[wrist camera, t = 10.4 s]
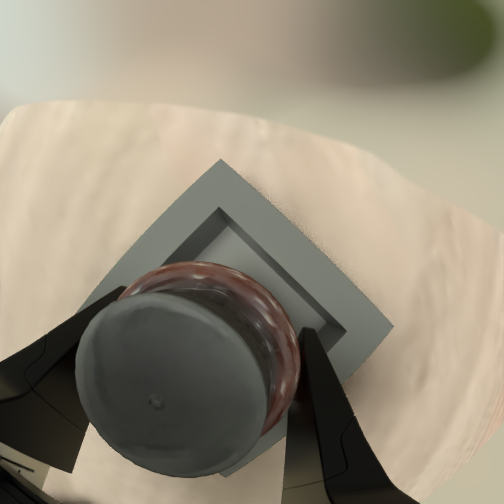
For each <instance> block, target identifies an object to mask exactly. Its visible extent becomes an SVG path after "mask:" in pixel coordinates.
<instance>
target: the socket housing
mask: <svg viewBox="0 0 504 504" xmlns="http://www.w3.org/2000/svg"><path fill="white" fill-rule="evenodd" d="M184 261H204V262H212V263H217V264H221V265H225V266H227V267H230V268H233V269H236V270H238V271H240V272H243V273H244V274H246V275H248V276H250V277H251V278H253V279H254V280H256V281H257V282H258V283H260V284H261V285H263V286H264V287H265V288H266V289H267V290H268V291H270V292H271V293H272V295H273V296H274V297H275V298H276V299H277V301H278V302H279V303H280V304H281V305H282V307H283V309H284V310H285V312H286V313H287V315H288V316H289V319H290V321H291V323H292V326H293V328H294V330H295V332H296V335H297V338H298V336H299V333H300V331H301V329H302V328H303V327H311V328H314V329H315V330H316V332H317V334H318V336H319V338H320V340H321V342H322V344H323V346H324V349H325V351H326V353H327V355H328V357H329V359H330V361H331V364H332V366H333V368H334V370H335V372H336V374H337V377H338V379H339V381H340V383H341V385H342V384H343V383H344V382H345V381H346V380H347V379H348V378H349V377H350V376H351V375H352V374H353V373H354V372H355V371H356V370H357V369H358V368H359V367H360V366H361V365H362V363H363V362H364V361H365V360H366V359H367V358H368V357H369V356H370V355H371V353H372V352H373V351H374V350H375V349H376V348H377V346H378V345H379V344H380V343H381V342H382V341H383V339H384V338H385V337H386V336H387V335H388V333H389V332H390V331H391V330H392V328H393V327H394V326H393V325H392V324H391V322H390V321H389V320H388V319H387V318H386V317H385V316H384V315H383V314H382V313H381V312H380V311H379V310H378V308H377V307H376V306H375V305H374V304H373V303H372V302H371V301H370V300H369V299H368V298H367V297H366V296H365V295H364V294H363V293H362V292H361V291H360V290H359V289H358V288H357V286H356V285H355V284H354V283H353V282H352V281H351V280H350V279H349V278H348V277H347V276H346V275H345V274H344V273H343V272H342V271H341V270H340V269H339V268H338V267H337V266H336V265H335V264H334V263H333V262H332V261H331V260H330V259H329V258H328V257H327V256H326V255H325V254H324V253H323V252H322V251H321V250H320V249H319V248H318V247H317V246H316V245H315V244H314V243H313V242H311V241H310V240H309V239H308V238H307V237H306V236H305V235H304V234H303V233H302V232H301V231H300V230H299V229H298V228H297V227H296V226H295V225H294V224H293V223H292V222H291V221H290V220H288V219H287V218H286V217H285V216H284V215H283V214H282V213H281V212H280V211H279V210H278V209H277V208H276V207H274V206H273V205H272V204H271V203H270V202H269V201H268V200H267V199H266V198H265V197H264V196H262V195H261V194H260V193H259V192H258V191H257V190H256V189H255V188H254V187H253V186H251V185H250V184H249V183H248V182H247V181H246V180H245V179H244V178H242V177H241V176H240V175H239V174H238V173H237V172H236V171H234V170H233V169H232V168H231V167H230V166H229V165H228V164H226V163H225V162H224V161H223V160H222V159H220V160H219V161H218V162H216V163H215V164H214V165H213V166H212V167H211V168H210V169H209V170H208V171H206V172H205V173H204V174H203V175H202V176H201V177H200V178H199V179H198V180H197V181H196V182H195V183H194V184H192V185H191V186H190V187H189V188H188V189H187V190H186V191H185V192H184V193H183V194H182V195H181V196H180V197H179V198H178V199H177V200H176V201H175V202H174V203H173V204H172V205H171V206H170V207H169V208H168V209H167V210H166V211H165V212H164V213H163V214H162V215H161V216H160V217H159V218H158V219H157V220H156V221H155V222H154V223H153V224H152V225H151V226H150V227H149V228H148V229H147V231H146V232H145V233H144V234H143V235H142V236H141V237H140V238H139V239H138V240H137V241H136V242H135V243H134V245H133V246H132V247H131V248H130V249H129V250H128V251H127V252H126V253H125V255H124V256H123V257H122V258H121V259H120V260H119V261H118V262H117V264H116V265H115V266H114V267H113V268H112V269H111V271H110V272H109V273H108V274H107V275H106V276H105V278H104V279H103V280H102V281H101V282H100V284H99V285H98V286H97V287H96V289H95V290H94V291H93V292H92V293H91V295H90V296H89V297H88V298H87V300H86V301H85V302H84V304H83V305H82V306H81V307H80V309H79V310H78V311H77V313H78V312H80V311H81V310H83V309H84V308H86V307H88V306H89V305H91V304H92V303H94V302H95V301H97V300H98V299H100V298H102V297H103V296H105V295H106V294H108V293H109V292H111V291H113V290H114V289H116V288H117V287H119V286H121V285H124V286H130V285H131V284H132V283H133V282H134V281H135V280H136V279H138V278H140V277H142V276H144V275H145V274H146V273H148V272H150V271H152V270H154V269H156V268H159V267H161V266H164V265H168V264H172V263H176V262H184ZM77 313H76V314H77ZM287 417H288V410H287V412H286V413H285V415H284V416H283V417H282V419H281V420H280V421H279V422H278V423H277V424H276V425H275V426H274V427H273V428H272V429H271V430H270V431H269V432H268V433H267V434H265V435H264V436H263V437H261V438H259V439H258V441H257V443H256V444H255V446H254V447H253V448H252V449H251V450H250V452H249V453H248V454H247V455H246V456H245V457H244V458H242V459H241V460H240V461H239V462H237V463H236V464H235V465H233V466H232V467H230V468H227V469H225V470H224V471H222V472H218V473H219V474H220V475H222V476H223V477H225V478H226V477H228V476H229V475H231V474H232V473H234V472H235V471H237V470H239V469H240V468H242V467H243V466H245V465H246V464H248V463H249V462H250V461H252V460H253V459H255V458H256V457H258V456H259V455H260V454H262V453H263V452H265V451H266V450H267V449H269V448H270V447H271V446H273V445H274V444H275V443H277V442H278V441H279V440H280V439H282V438H283V437H284V436H286V435H287Z"/></svg>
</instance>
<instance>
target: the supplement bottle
mask: <svg viewBox="0 0 504 504" xmlns="http://www.w3.org/2000/svg"><path fill="white" fill-rule="evenodd" d="M300 361H301V360H300V351H299V344H298V340H297V335H296V332H295V330H294V328H293V326H292V323H291V321H290V319H289V316H288V315H287V313H286V312H285V310H284V309H283V307H282V305H281V304H280V303H279V302H278V301H277V299H276V298H275V297H274V296H273V295H272V293H271V292H270V291H268V290H267V289H266V288H265V287H264V286H263V285H261V284H260V283H258V282H257V281H256V280H254V279H253V278H251V277H250V276H248V275H246V274H244V273H243V272H240V271H238V270H236V269H233V268H230V267H227V266H225V265H221V264H217V263H212V262H204V261H184V262H176V263H172V264H168V265H164V266H161V267H159V268H156V269H154V270H152V271H150V272H148V273H146V274H145V275H144V276H142V277H140V278H138V279H136V280H135V281H134V282H133V283H132V284H131V285H130V286H128V287H127V288H126V290H125V291H124V292H123V293H122V294H121V295H120V297H119V298H118V300H117V301H113V302H112V303H110V304H109V305H108V306H107V307H106V308H104V309H102V310H101V311H100V312H99V313H98V314H97V315H96V316H95V317H94V318H93V319H92V320H91V321H90V323H89V325H88V327H87V328H86V329H85V331H84V333H83V335H82V337H81V340H80V343H79V347H78V350H77V353H76V369H75V376H76V384H77V391H78V394H79V398H80V402H81V404H82V406H83V408H84V411H85V413H86V415H87V417H88V419H89V421H90V423H91V424H92V425H93V426H94V427H95V428H96V430H97V432H98V433H99V435H100V436H101V437H102V438H103V439H104V440H105V441H106V442H107V443H108V445H109V446H110V447H112V448H113V449H114V450H115V451H117V452H118V453H120V454H121V455H122V456H123V457H124V458H126V459H128V460H130V461H131V462H133V463H134V464H135V465H138V466H140V467H142V468H145V469H147V470H150V471H152V472H155V473H159V474H162V475H166V476H171V477H181V478H197V477H202V476H208V475H213V474H215V473H218V472H222V471H224V470H225V469H227V468H230V467H232V466H233V465H235V464H236V463H237V462H239V461H240V460H241V459H242V458H244V457H245V456H246V455H247V454H248V453H249V452H250V450H251V449H252V448H253V447H254V446H255V444H256V443H257V441H258V439H259V438H261V437H263V436H264V435H265V434H267V433H268V432H269V431H270V430H271V429H272V428H273V427H274V426H275V425H276V424H277V423H278V422H279V421H280V420H281V419H282V417H283V416H284V415H285V413H286V412H287V410H288V409H289V407H290V405H291V403H292V401H293V398H294V396H295V393H296V389H297V386H298V381H299V378H300V364H301V363H300Z"/></svg>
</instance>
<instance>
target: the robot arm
mask: <svg viewBox="0 0 504 504" xmlns="http://www.w3.org/2000/svg"><path fill="white" fill-rule="evenodd" d="M127 287H128V286H124V285H121V286H119V287H117V288H116V289H114V290H113V291H111V292H109V293H108V294H106V295H105V296H103V297H102V298H100V299H98V300H97V301H95V302H94V303H92V304H91V305H89V306H88V307H86V308H84V309H83V310H81V311H80V312H78V313H77V314H75V315H74V316H72V317H71V318H69V319H68V320H66V321H65V322H63V323H62V324H60V325H59V326H57V327H56V328H54V329H53V330H51V331H50V332H48V334H45V335H44V336H42V337H41V338H40V339H38V340H37V341H35V342H34V343H32V344H30V345H29V346H27V347H26V348H24V349H22V350H20V351H19V352H17V353H15V354H13V355H12V356H10V357H8V358H6V359H5V360H3V361H1V362H0V504H61V503H59V502H58V501H56V500H55V499H53V498H52V497H50V496H49V495H47V494H46V493H45V492H43V491H42V488H43V485H44V482H45V479H46V477H47V474H48V471H49V468H50V466H52V467H54V468H57V469H60V470H62V471H65V472H68V473H72V471H73V469H74V465H75V462H76V459H77V456H78V453H79V450H80V448H81V445H82V442H83V439H84V436H85V434H86V433H85V432H86V430H87V428H88V425H89V422H90V421H89V419H88V417H87V415H86V413H85V411H84V408H83V406H82V404H81V402H80V398H79V394H78V391H77V384H76V376H75V369H76V353H77V350H78V347H79V343H80V340H81V337H82V335H83V333H84V331H85V329H86V328H87V327H88V325H89V323H90V321H91V320H92V319H93V318H94V317H95V316H96V315H97V314H98V313H99V312H100V311H101V310H102V309H104V308H106V307H107V306H108V305H109V304H110V303H112V302H113V301H117V300H118V298H119V297H120V295H121V294H122V293H123V292H124V291H125V290H126V288H127ZM297 340H298V344H299V351H300V360H301V361H300V363H301V364H300V378H299V381H298V386H297V389H296V393H295V396H294V398H293V401H292V403H291V405H290V407H289V409H288V417H287V436H286V452H285V466H284V478H283V490H282V500H281V504H420V503H419V502H417V501H415V500H414V499H412V498H411V497H409V496H408V495H407V494H405V493H404V492H402V491H401V490H399V489H398V488H397V487H396V486H395V485H394V484H393V483H392V482H391V480H390V479H389V477H388V476H387V474H386V472H385V471H384V469H383V467H382V466H381V464H380V462H379V461H378V459H377V457H376V456H375V454H374V452H373V451H372V449H371V447H370V445H369V443H368V442H367V440H366V438H365V436H364V434H363V432H362V430H361V428H360V426H359V423H358V421H357V419H356V416H354V412H353V410H352V408H351V405H350V403H349V401H348V399H347V396H346V394H345V392H344V390H343V388H342V385H341V383H340V381H339V379H338V377H337V374H336V372H335V370H334V368H333V366H332V364H331V361H330V359H329V357H328V355H327V353H326V351H325V349H324V346H323V344H322V342H321V340H320V338H319V336H318V334H317V332H316V330H315V329H314V328H311V327H303V328H302V329H301V331H300V333H299V336H298V338H297Z"/></svg>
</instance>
